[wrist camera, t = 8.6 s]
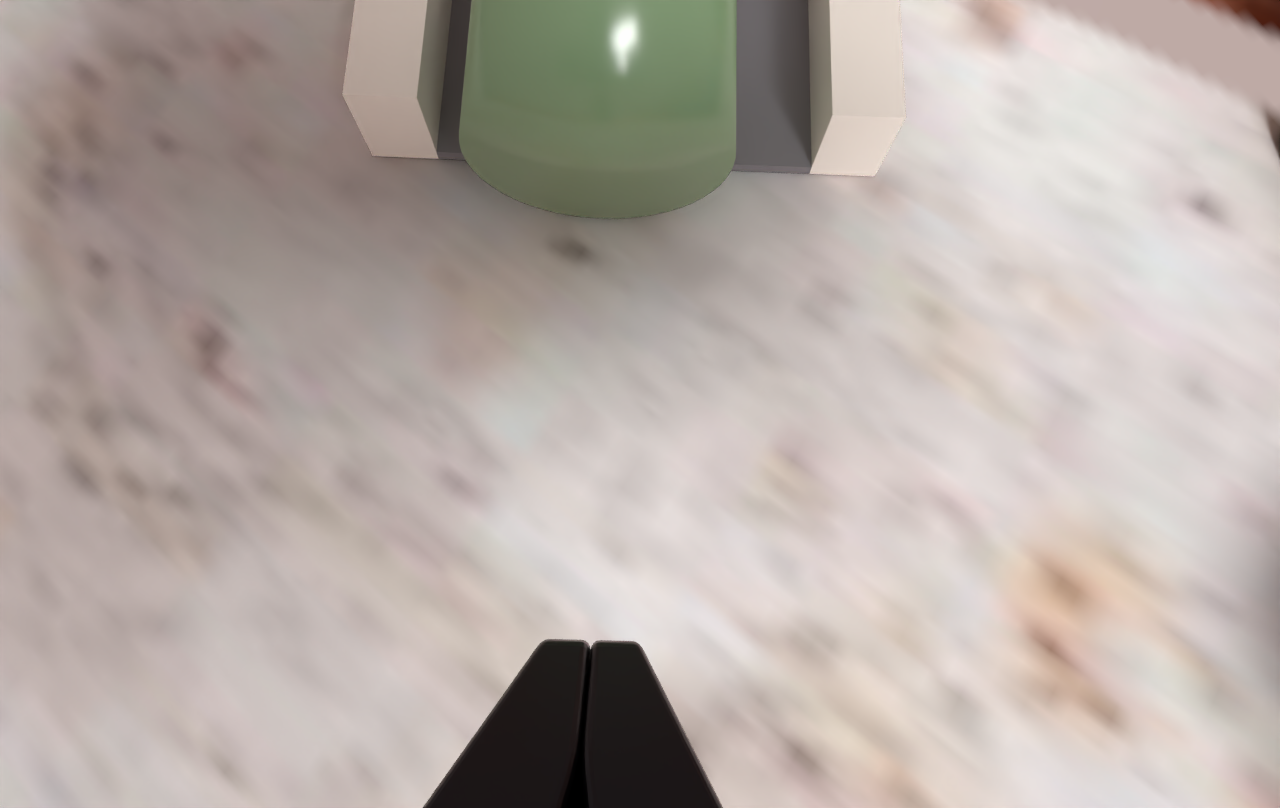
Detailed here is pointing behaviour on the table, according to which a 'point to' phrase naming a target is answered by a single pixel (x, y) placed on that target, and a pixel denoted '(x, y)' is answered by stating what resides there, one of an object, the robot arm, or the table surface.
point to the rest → (765, 81)
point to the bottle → (601, 102)
